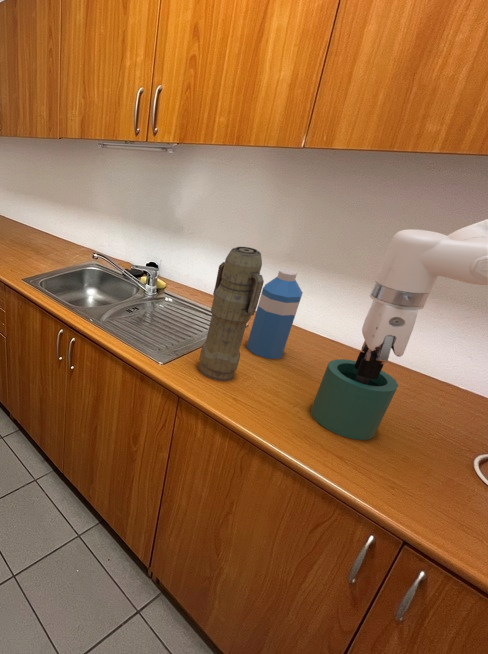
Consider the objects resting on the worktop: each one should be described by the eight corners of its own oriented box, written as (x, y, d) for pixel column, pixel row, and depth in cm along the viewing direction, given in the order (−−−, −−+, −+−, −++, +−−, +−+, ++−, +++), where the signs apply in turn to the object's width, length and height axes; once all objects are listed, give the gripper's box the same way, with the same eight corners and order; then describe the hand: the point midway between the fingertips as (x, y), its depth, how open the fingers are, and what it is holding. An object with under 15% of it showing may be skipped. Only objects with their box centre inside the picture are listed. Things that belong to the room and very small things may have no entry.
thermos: (209, 356, 114) (237, 240, 100) (247, 379, 104) (283, 254, 90) (186, 362, 111) (211, 244, 98) (221, 387, 101) (255, 260, 87)
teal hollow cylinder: (369, 415, 91) (391, 369, 86) (379, 447, 83) (404, 398, 77) (308, 398, 97) (325, 353, 92) (312, 426, 88) (331, 379, 83)
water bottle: (287, 361, 111) (315, 280, 101) (249, 355, 114) (272, 276, 104) (278, 344, 119) (302, 267, 109) (242, 339, 122) (263, 264, 112)
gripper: (439, 315, 68) (398, 401, 75) (414, 284, 80) (380, 360, 87) (381, 305, 72) (347, 387, 79) (365, 277, 84) (337, 350, 91)
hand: (365, 372), depth 83 cm, fingers closed
